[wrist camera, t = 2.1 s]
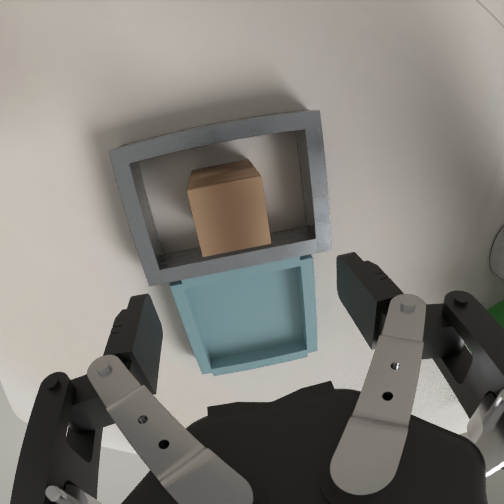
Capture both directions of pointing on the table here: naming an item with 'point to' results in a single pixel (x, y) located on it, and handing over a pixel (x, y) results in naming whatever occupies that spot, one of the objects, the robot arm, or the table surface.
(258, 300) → the tray
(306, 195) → the holder
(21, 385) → the table surface
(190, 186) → the walnut block
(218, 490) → the robot arm
